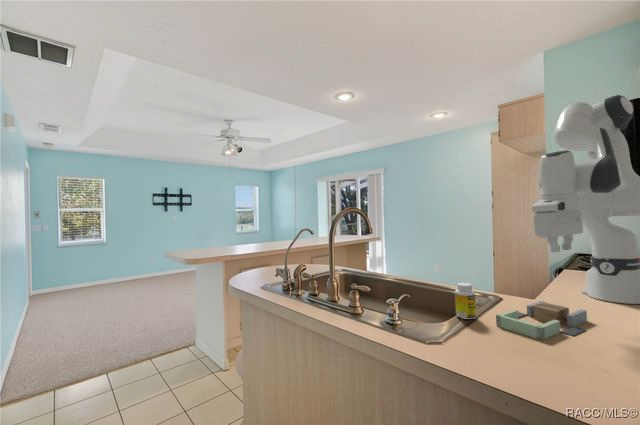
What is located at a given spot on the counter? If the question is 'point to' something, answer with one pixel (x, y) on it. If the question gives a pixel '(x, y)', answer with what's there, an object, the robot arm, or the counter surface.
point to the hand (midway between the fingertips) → (561, 250)
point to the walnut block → (550, 312)
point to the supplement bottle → (465, 301)
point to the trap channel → (540, 331)
